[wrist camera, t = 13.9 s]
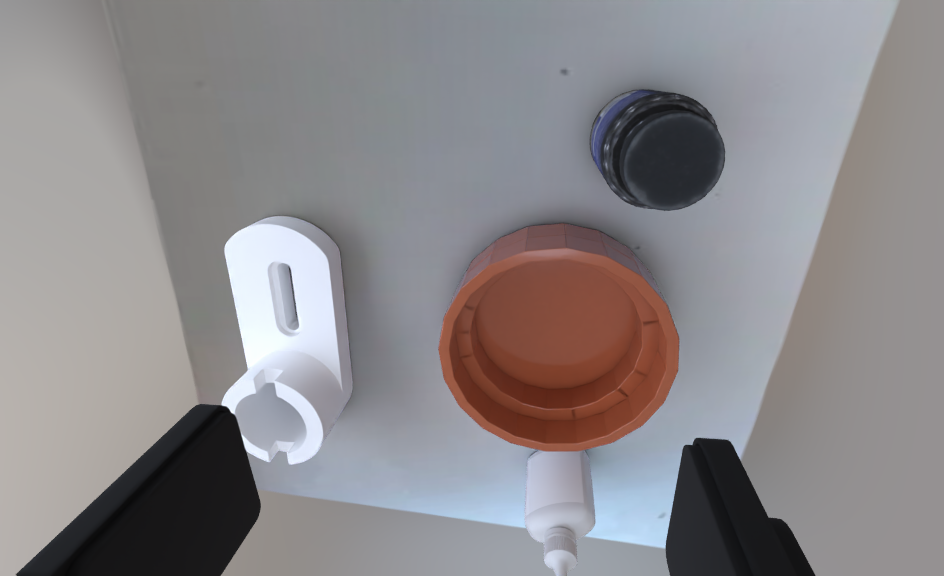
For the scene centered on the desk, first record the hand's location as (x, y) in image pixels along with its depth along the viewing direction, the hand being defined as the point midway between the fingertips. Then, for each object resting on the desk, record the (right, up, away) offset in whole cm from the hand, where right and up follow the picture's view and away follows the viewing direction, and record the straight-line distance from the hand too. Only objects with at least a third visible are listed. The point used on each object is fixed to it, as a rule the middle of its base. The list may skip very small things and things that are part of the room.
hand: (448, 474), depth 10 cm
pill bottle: (+12, +14, +23) cm, 30 cm away
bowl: (+7, +1, +30) cm, 30 cm away
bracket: (-15, +1, +33) cm, 37 cm away
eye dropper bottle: (+9, -12, +35) cm, 38 cm away
